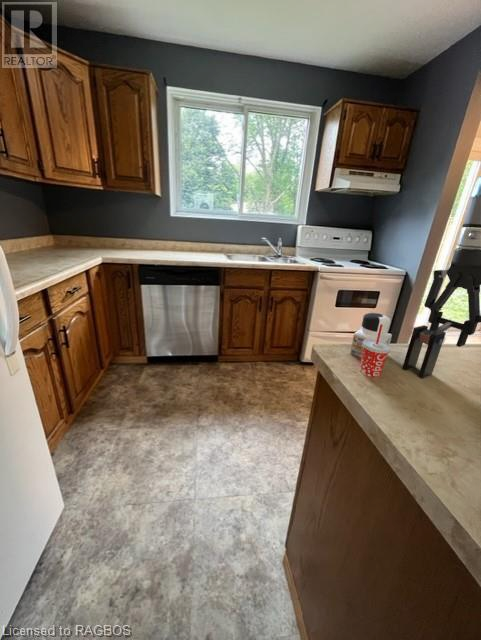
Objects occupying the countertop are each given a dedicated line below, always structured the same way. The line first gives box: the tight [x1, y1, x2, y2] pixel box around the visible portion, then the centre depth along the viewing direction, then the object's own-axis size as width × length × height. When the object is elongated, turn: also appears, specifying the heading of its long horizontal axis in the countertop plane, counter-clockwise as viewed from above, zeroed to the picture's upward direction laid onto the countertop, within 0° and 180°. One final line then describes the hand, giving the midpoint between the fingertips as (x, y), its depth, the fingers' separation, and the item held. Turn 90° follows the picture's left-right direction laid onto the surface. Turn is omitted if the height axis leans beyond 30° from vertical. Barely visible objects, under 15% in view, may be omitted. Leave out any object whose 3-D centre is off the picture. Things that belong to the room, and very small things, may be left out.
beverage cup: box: [359, 324, 392, 378], centre depth 65 cm, size 6×6×14 cm
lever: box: [419, 317, 464, 346], centre depth 66 cm, size 12×6×2 cm, turn 119°
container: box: [349, 312, 393, 359], centre depth 74 cm, size 8×8×13 cm
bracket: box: [401, 324, 447, 380], centre depth 66 cm, size 12×9×13 cm
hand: (445, 339), depth 70 cm, fingers closed on lever, 6 cm apart
